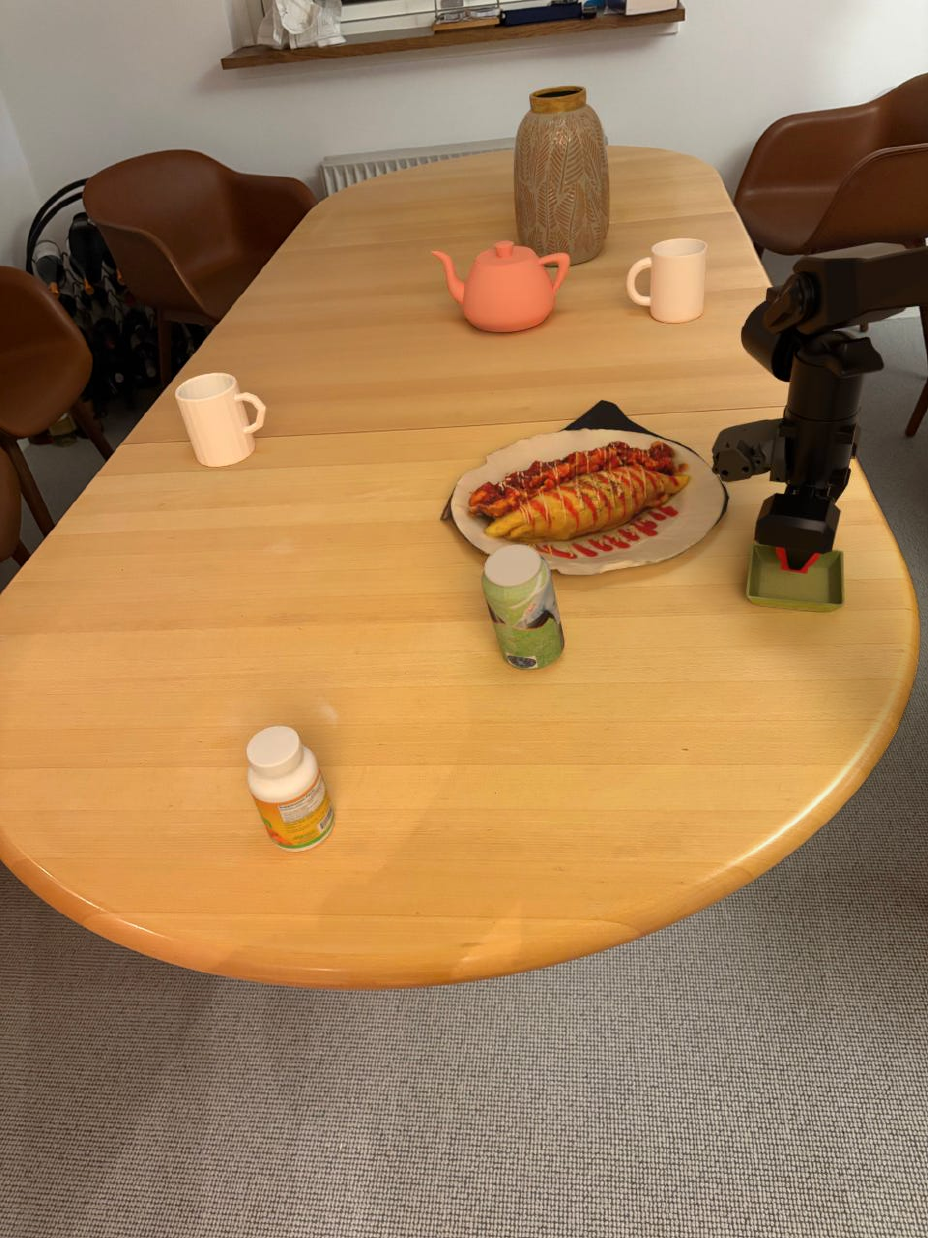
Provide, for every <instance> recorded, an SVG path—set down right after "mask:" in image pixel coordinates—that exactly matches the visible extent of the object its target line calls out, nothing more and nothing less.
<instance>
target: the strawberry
mask: <svg viewBox="0 0 928 1238" xmlns="http://www.w3.org/2000/svg"><path fill="white" fill-rule="evenodd" d="M776 553H777V556H778V558H779V560H780V561H781V562H782V563H781V570H786V571H792V572H798V573H804V574H807V572H808V569H809V566H811V565H812V564H814V563H815V562H816V561H817V559H818V558H819V556H820V554H818V553H815V554H814V555H813V556H812V557H811V559H810V560H809V561H808V562H807V563H806V565H805V566H804V567H803V568H802V569H801V570H800V571H797V570H791V569H789V568H788V564H787V558H786V553H785V548H779V547H776Z"/></svg>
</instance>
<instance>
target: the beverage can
mask: <svg viewBox="0 0 928 1238" xmlns="http://www.w3.org/2000/svg"><path fill="white" fill-rule="evenodd" d="M480 579H481V580H480V584H481V589H482V591H483V595H484V598H485V602H486V605H487V608H488V612H489V616H490V619H491V622H492V626H493V629H494V633H495V635H496V639H497V643H498V646H499V649H500V652H501V656H502V658H503V659H504V661H505V662H506V663H507V664H508V665H510V666H511V667H513V668H515V669H518V670H521V671H535V670H540V669H543V668H546V667H548V666H550V665H551V664H553V663H554V662H556V661H557V660H558V659H559V657H560V656H561V655H562V653H563V651H564V648H565V645H566V644H565V635H564V631H563V626H562V621H561V615H560V612H559V607H558V602H557V598H556V593H555V587H554V583H553V578H552V572H551V570H550V568H549V566H548V564H547V562H546V561H545V559H544V558H543V557H541V556H540V555H539V553H538V552H537V551H536V550H535V549H533V548H531V547H529V546H526V545H510V546H506V547H503V548H501V549H498V550H497V551H495V552H494V553H493V554H491V555H490V554H489V557H488V558H487V559H486V561H485V563H484V569H483V571H482V574H481V578H480Z"/></svg>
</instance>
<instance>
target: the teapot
mask: <svg viewBox="0 0 928 1238" xmlns="http://www.w3.org/2000/svg"><path fill="white" fill-rule="evenodd" d="M514 244H515V243H514V241H511V240H500V241H497V242H495V243H494V244H493V247H494V248H489V249H486V250H484V251H482V252H480V253H479V254H478V255H477V256H476V257H475V259H474V261H473V263H472V265H471V267H470V270H469V272H468V274H467V277H466V279H465V282H464V281H462V280H461V279H459V276H458V275H457V273H456V268H455V264H454V261H453V259H452V258H451V256H450V255H449V254H447V253H446V252H442V251H438V250H430V251H429V252H430V254H432V255H434V256H435V257H436V258H437V259H438V260H439V261H440V263H441V264H442V266H443V271H444V274H445V281H446V286H447V290H448V293H449V295H450V296H451V298H452V299H453V300H454V301H455V303H457V304H459V305H460V306H462V313H463V315H464V318H465V319H466V320H467V321H468V322H469V323H470V324H472V325H473V327H475V328H476V329H479V330H480V331H485V332H489V333H490V332H492V333H509V332H511V333H512V332H518V331H524V330H527V329H530V328H534V327H536V326H538V325H540V324H542V323H543V322H544V321H545V320H547V317H548V316H549V315H550V314H551V312H552V311H553V310H554V309H553V308H554V307H555V303H556V293H557V292H558V291H559V289H560V287H561V286H562V284H563V282H564V280H565V278H566V276H567V275H568V272H569V270H570V266H571V265H570V257H569V255H568V254H566V253H555V254H551V255H548V256H544V257H542V258H539V257H538V256H537V255H536V253H535V252H534V251H533V250H532V249H530V248H528V247H523V246H521V245H514ZM551 262H556V263H557V264H558V266H557V272H556V276H555V278H554V279H555V280H554V282H553V281H552V278H551V275H550V273H549V271H548V270H547V268H546V266H544V264H547V263H551Z"/></svg>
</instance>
